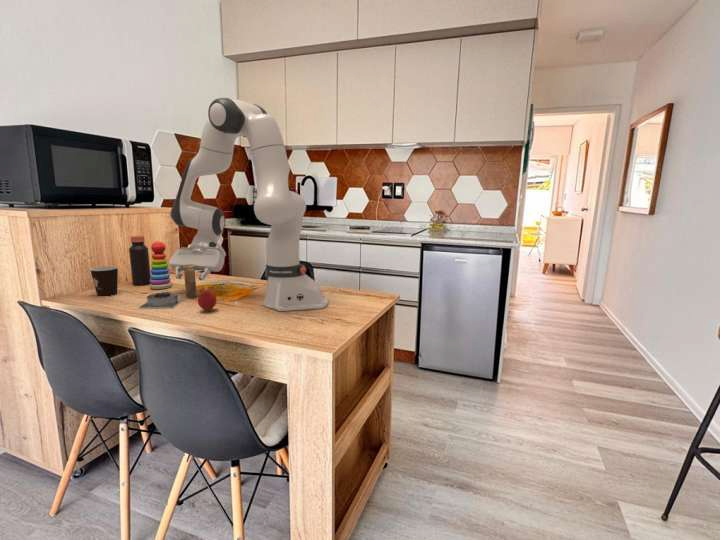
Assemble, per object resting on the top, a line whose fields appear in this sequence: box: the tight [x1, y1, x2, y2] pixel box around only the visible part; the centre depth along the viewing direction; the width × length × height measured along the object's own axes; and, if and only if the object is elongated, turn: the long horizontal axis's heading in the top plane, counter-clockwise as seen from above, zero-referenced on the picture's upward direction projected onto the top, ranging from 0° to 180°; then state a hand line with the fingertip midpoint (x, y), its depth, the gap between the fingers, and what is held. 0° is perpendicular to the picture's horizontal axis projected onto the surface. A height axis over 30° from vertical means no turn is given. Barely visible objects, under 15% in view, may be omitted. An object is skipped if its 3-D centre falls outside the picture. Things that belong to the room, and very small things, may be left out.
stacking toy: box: [149, 240, 172, 290], centre depth 157 cm, size 8×8×19 cm
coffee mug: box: [90, 265, 119, 297], centre depth 148 cm, size 12×9×10 cm
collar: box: [138, 291, 186, 309], centre depth 137 cm, size 11×11×3 cm
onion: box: [197, 286, 218, 312], centre depth 129 cm, size 6×6×8 cm
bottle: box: [128, 235, 151, 287], centre depth 162 cm, size 7×7×20 cm
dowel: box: [183, 265, 198, 300], centre depth 145 cm, size 4×4×12 cm
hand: (189, 278), depth 144 cm, fingers open, 8 cm apart
